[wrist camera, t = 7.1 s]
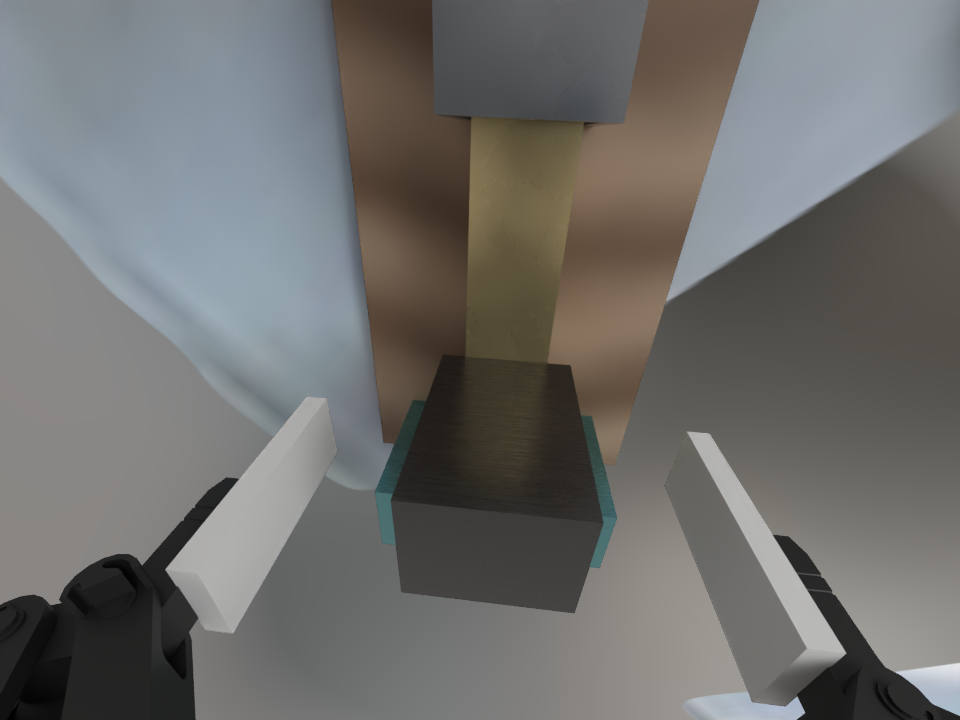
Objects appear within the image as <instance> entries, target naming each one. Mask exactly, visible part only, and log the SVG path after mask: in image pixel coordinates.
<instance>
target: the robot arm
mask: <svg viewBox="0 0 960 720" xmlns="http://www.w3.org/2000/svg"><path fill="white" fill-rule="evenodd" d="M337 453H338V451H337V446H336V442H335V437H334V432H333V427H332V422H331V417H330V412H329V407H328V403H327V398H317V397H306V398H305V399H304V401H303V402H302V403H301V404H300V406H299V407H298V408H297V409H296V410H295V412H294V413H293V414H292V415H291V417H290V418H289V419H288V420H287V421H286V423H285V424H284V425H283V426H282V428H281V429H280V430H279V431H278V432H277V434H276V435H275V436H274V437H273V439H272V440H271V441H270V442H269V444H268V445H267V446H266V447H265V448H264V450H263V451H262V452H261V453H260V454H259V456H258V457H257V458H256V459H255V461H254V462H253V463H252V464H251V465H250V467H249V468H248V469H247V470H246V472H245V473H244V474H243V475H242V477H241V478H240V479H236V478H225V479H224V480H222V481H221V482H219V483H218V484H217V485H215V486H214V487H212V488H211V489H209V490H208V491H207V493H206V494H205V495H204V496H203V497H202V498H201V499H200V500H199V502H198V503H197V504H196V505H195V508H192V510H191V511H190V512H189V513H188V514H187V515H186V516H185V518H184V521H181V522H180V523H179V524H178V525H177V527H176V528H175V529H174V530H173V531H172V532H171V534H170V535H169V536H168V537H167V538H166V539H165V540H164V541H163V543H162V544H161V545H160V546H159V547H158V548H157V549H156V551H155V552H154V553H153V554H152V555H151V556H150V557H149V558H148V560H147V561H146V562H145V563H144V564H143V565H141V564H140V562H139V561H138V560H137V558H135V557H133V556H132V555H130V554H117V555H113V556H110V557H106V558H103V559H101V560H99V561H97V562H96V563H93V564H91V565H90V566H88V567H87V568H85V569H84V570H83V571H81V572H80V573H79V574H77V575H76V576H75V577H74V578H73V579H72V580H71V581H70V583H69V584H68V585H67V586H66V587H65V588H64V590H63V592H62V594H61V596H60V599H59V600H60V601H61V602H62V603H60V604H56V605H50V604H49V603H48V602H47V601H46V600H45V599H44V598H42V597H40V596H36V595H28V596H21V597H18V598H15V599H13V600H10V601H8V602H5V603H3V604H1V605H0V720H196V719H195V699H194V680H193V660H192V640H191V637H190V634H189V631H190V630H191V628H192V627H193V625H194V624H195V622H196V621H197V619H199V621H200V623H201V624H202V625H203V627H204V629H205V630H210V631H218V632H226V633H233V632H234V631H235V629H236V628H237V626H238V624H239V622H240V621H241V619H242V617H243V615H244V614H245V612H246V610H247V609H248V607H249V605H250V603H251V601H252V600H253V598H254V596H255V595H256V593H257V591H258V590H259V587H260V586H261V584H262V583H263V581H264V579H265V577H266V576H267V574H268V572H269V570H270V568H271V567H272V565H273V564H274V562H275V560H276V558H277V557H278V555H279V553H280V551H281V550H282V548H283V546H284V545H285V543H286V541H287V539H288V537H289V536H290V534H291V532H292V531H293V529H294V527H295V525H296V524H297V522H298V520H299V518H300V516H301V515H302V513H303V512H304V510H305V508H306V506H307V505H308V503H309V501H310V500H311V498H312V496H313V494H314V492H315V491H316V489H317V487H318V486H319V484H320V482H321V480H322V479H323V477H324V475H325V474H326V472H327V470H328V468H329V467H330V465H331V463H332V461H333V460H334V458H335V456H336V455H337ZM665 488H666V490H667V493H668V495H669V498H670V500H671V503H672V505H673V508H674V510H675V513H676V515H677V518H678V520H679V523H680V525H681V527H682V530H683V532H684V534H685V537H686V540H687V542H688V544H689V547H690V549H691V552H692V555H693V557H694V559H695V562H696V564H697V567H698V569H699V572H700V574H701V577H702V579H703V582H704V584H705V587H706V589H707V592H708V594H709V597H710V599H711V601H712V604H713V606H714V609H715V611H716V614H717V616H718V619H719V621H720V624H721V626H722V629H723V631H724V634H725V636H726V639H727V641H728V643H729V646H730V648H731V651H732V653H733V656H734V658H735V661H736V663H737V666H738V668H739V671H740V673H741V676H742V678H743V680H744V683H745V685H746V688H747V690H748V693H749V695H750V698H751V700H752V702H755V703H763V704H770V705H778V706H786V705H788V704H789V703H790V702H791V701H792V700H793V699H795V698H796V697H797V696H798V698H799V700H800V702H801V704H802V707H803V709H804V711H805V714H803V715H802V716H801V717H800V718H798V719H797V720H960V716H958V715H956V714H954V713H951V712H949V711H947V710H944V709H942V708H940V707H937V706H935V705H933V704H932V703H931V702H930V701H929V700H928V699H927V698H926V697H925V696H924V695H923V694H922V693H921V692H920V690H919V689H918V688H916V687H915V686H914V685H912V684H911V683H910V682H909V681H907V680H906V679H905V678H903V677H902V676H901V675H899V674H897V673H895V672H893V671H891V670H889V669H887V668H885V667H884V665H883V664H882V663H881V661H880V660H879V659H878V658H877V656H876V655H875V653H874V652H873V650H872V649H871V647H870V646H869V645H868V643H867V641H866V640H865V638H864V637H863V635H862V634H861V633H860V631H859V630H858V628H857V627H856V625H855V624H854V622H853V621H852V619H851V618H850V616H849V615H848V614H847V612H846V610H845V609H844V607H843V606H842V605H841V603H840V601H839V600H838V599H837V597H836V596H835V595H833V594H832V590H831V588H830V587H829V585H828V584H827V582H826V581H825V579H824V578H822V577H821V573H820V572H819V571H818V569H817V568H816V566H815V565H814V563H813V562H812V560H811V559H810V557H809V556H808V555H807V553H806V552H804V551H803V550H802V549H801V548H800V547H799V546H798V545H797V544H796V543H795V542H794V541H793V540H792V539H790V538H789V537H788V536H779V535H772V533H771V532H770V530H769V529H768V527H767V525H766V524H765V522H764V520H763V519H762V517H761V516H760V514H759V513H758V511H757V509H756V508H755V506H754V504H753V503H752V501H751V500H750V498H749V497H748V495H747V493H746V492H745V490H744V488H743V487H742V485H741V484H740V482H739V481H738V479H737V477H736V476H735V474H734V472H733V471H732V469H731V468H730V466H729V464H728V463H727V461H726V460H725V458H724V456H723V455H722V453H721V452H720V450H719V448H718V447H717V446H716V444H715V442H714V441H713V439H712V437H711V436H710V434H707V433H696V432H687V433H686V436H685V438H684V440H683V442H682V445H681V447H680V449H679V452H678V454H677V457H676V459H675V461H674V464H673V466H672V469H671V471H670V473H669V476H668V478H667V480H666V483H665Z"/></svg>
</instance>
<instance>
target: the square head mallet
mask: <svg viewBox="0 0 960 720" xmlns="http://www.w3.org/2000/svg"><path fill="white" fill-rule="evenodd" d="M583 128H584V122H573V121H551V120H529V119H507V118H485V117H471V153H470V193H469V233H468V273H467V313H466V353H465V356H454V355H442V358H441V361H440V364H439V367H438V369H437V372H436V375H435V378H434V381H433V383H432V386H431V389H430V392H429V394H428V397H427V400H426V403H425V406H424V408H423V411H422V414H421V417H420V420H419V422H418V425H417V428H416V431H415V434H414V436H413V439H412V442H411V445H410V448H409V450H408V453H407V456H406V459H405V461H404V464H403V467H402V470H401V473H400V475H399V478H398V481H397V484H396V487H395V489H394V492H393V495H392V498H391V509H392V517H393V525H394V534H395V542H396V550H397V559H398V568H399V576H400V584H401V592H404V593H413V594H421V595H429V596H437V597H445V598H454V599H462V600H470V601H478V602H486V603H487V602H488V603H495V604H503V605H511V606H519V607H527V608H536V609H544V610H552V611H560V612H568V613H575V610H576V607H577V604H578V601H579V598H580V595H581V592H582V588H583V586H584V582H585V579H586V576H587V573H588V570H589V567H590V564H591V561H592V558H593V555H594V552H595V549H596V546H597V542H598V539H599V536H600V533H601V530H602V527H603V524H604V522H603V518H602V513H601V508H600V503H599V499H598V494H597V489H596V484H595V479H594V475H593V470H592V465H591V460H590V456H589V451H588V446H587V441H586V437H585V432H584V427H583V422H582V417H581V413H580V408H579V403H578V398H577V394H576V389H575V384H574V379H573V375H572V370H571V365H562V364H550V363H547V361H548V355H549V348H550V342H551V335H552V329H553V322H554V316H555V309H556V303H557V296H558V290H559V283H560V277H561V270H562V264H563V257H564V251H565V244H566V238H567V231H568V225H569V218H570V212H571V205H572V199H573V192H574V186H575V179H576V173H577V167H578V160H579V154H580V147H581V141H582V134H583Z"/></svg>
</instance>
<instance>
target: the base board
mask: <svg viewBox="0 0 960 720" xmlns="http://www.w3.org/2000/svg"><path fill="white" fill-rule="evenodd" d="M331 2H332V11H333V19H334V28H335V36H336V45H337V53H338V61H339V70H340V78H341V87H342V95H343V104H344V112H345V121H346V129H347V137H348V146H349V154H350V163H351V171H352V180H353V188H354V197H355V205H356V213H357V222H358V230H359V239H360V247H361V256H362V264H363V273H364V281H365V289H366V298H367V306H368V315H369V323H370V332H371V340H372V349H373V357H374V365H375V374H376V382H377V391H378V399H379V408H380V416H381V425H382V433H383V441H384V443H393V444H395V442H396V440H397V437H398V435H399V432H400V430H401V427H402V425H403V423H404V420H405V418H406V415H407V413H408V410H409V408H410V405H411V403H412V401H413V400H420V401H426V400H427V397H428V394H429V392H430V389H431V386H432V383H433V381H434V378H435V375H436V372H437V369H438V367H439V364H440V361H441V358H442V355H454V356H465V353H466V313H467V273H468V233H469V193H470V153H471V121H467V120H457V119H452V118H448V117H443V116H439V115H434V73H433V15H432V0H331ZM758 2H759V0H649V1H648V6H647V11H646V16H645V21H644V26H643V31H642V36H641V41H640V46H639V51H638V56H637V61H636V66H635V71H634V76H633V81H632V86H631V91H630V96H629V101H628V106H627V111H626V116H625V121H624V123H621V124H612V125H602V126H584V128H583V134H582V141H581V147H580V154H579V160H578V167H577V173H576V179H575V186H574V192H573V199H572V205H571V212H570V218H569V225H568V231H567V238H566V244H565V251H564V257H563V264H562V270H561V277H560V283H559V290H558V296H557V303H556V309H555V316H554V322H553V329H552V335H551V342H550V348H549V355H548V361H547V363H550V364H562V365H571V370H572V375H573V379H574V384H575V389H576V394H577V398H578V403H579V408H580V413H581V415H585V416H592V419H593V423H594V427H595V431H596V435H597V439H598V443H599V447H600V451H601V455H602V459H603V463H604V464H607V465H615V462H616V459H617V456H618V453H619V450H620V447H621V443H622V440H623V437H624V433H625V430H626V427H627V424H628V421H629V418H630V414H631V411H632V408H633V405H634V401H635V398H636V395H637V392H638V388H639V385H640V382H641V379H642V376H643V372H644V369H645V366H646V363H647V360H648V356H649V353H650V350H651V347H652V343H653V340H654V337H655V334H656V330H657V327H658V324H659V321H660V318H661V314H662V311H663V308H664V305H665V302H666V298H667V295H668V292H669V289H670V285H671V282H672V279H673V276H674V273H675V269H676V266H677V263H678V260H679V257H680V253H681V250H682V247H683V244H684V240H685V237H686V234H687V231H688V228H689V224H690V221H691V218H692V215H693V211H694V208H695V205H696V202H697V199H698V195H699V192H700V189H701V186H702V182H703V179H704V176H705V173H706V170H707V166H708V163H709V160H710V157H711V153H712V150H713V147H714V144H715V141H716V137H717V134H718V131H719V128H720V124H721V121H722V118H723V115H724V112H725V108H726V105H727V102H728V99H729V95H730V92H731V89H732V86H733V83H734V79H735V76H736V73H737V70H738V66H739V63H740V60H741V57H742V54H743V50H744V47H745V44H746V41H747V37H748V34H749V31H750V28H751V25H752V21H753V18H754V15H755V12H756V9H757V5H758Z"/></svg>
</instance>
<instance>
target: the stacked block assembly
mask: <svg viewBox="0 0 960 720" xmlns="http://www.w3.org/2000/svg"><path fill="white" fill-rule="evenodd" d="M648 1H649V0H432V15H433V73H434V115H439V116H443V117H448V118H452V119H457V120H467V121H471V117H485V118H507V119H529V120H551V121H573V122H584V126H602V125H612V124H621V123H624V121H625V116H626V111H627V106H628V101H629V96H630V91H631V86H632V81H633V76H634V71H635V66H636V61H637V56H638V51H639V46H640V41H641V36H642V31H643V26H644V21H645V16H646V11H647V6H648ZM425 403H426V401H420V400H413V401H412V403H411V405H410V408H409V410H408V413H407V415H406V418H405V420H404V423H403V425H402V427H401V430H400V432H399V435H398V437H397V440H396V442H395V445H394V447H393V449H392V452H391V454H390V457H389V459H388V462H387V464H386V466H385V469H384V471H383V474H382V476H381V479H380V481H379V484H378V486H377V488H376V491H375V495H376V503H377V510H378V516H379V524H380V530H381V537H382V543H384V544H393V545H396V542H395V534H394V525H393V517H392V509H391V498H392V495H393V492H394V489H395V487H396V484H397V481H398V478H399V475H400V473H401V470H402V467H403V464H404V461H405V459H406V456H407V453H408V450H409V448H410V445H411V442H412V439H413V436H414V434H415V431H416V428H417V425H418V422H419V420H420V417H421V414H422V411H423V408H424V406H425ZM581 417H582V422H583V427H584V432H585V437H586V441H587V446H588V451H589V456H590V460H591V465H592V470H593V475H594V479H595V484H596V489H597V494H598V499H599V503H600V508H601V513H602V518H603V522H604V524H603V527H602V530H601V533H600V536H599V539H598V542H597V546H596V549H595V552H594V555H593V558H592V561H591V564H590V567H594V568H600V566H601V563H602V560H603V557H604V554H605V551H606V548H607V546H608V543H609V540H610V537H611V534H612V531H613V528H614V526H615V523H616V520H617V516H616V512H615V508H614V504H613V500H612V496H611V492H610V488H609V483H608V479H607V476H606V471H605V468H604V463H603V459H602V455H601V451H600V447H599V443H598V439H597V435H596V431H595V427H594V423H593V419H592V416H585V415H581Z"/></svg>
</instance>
